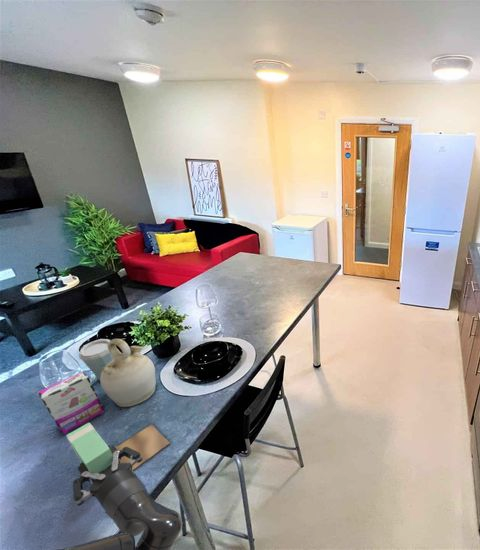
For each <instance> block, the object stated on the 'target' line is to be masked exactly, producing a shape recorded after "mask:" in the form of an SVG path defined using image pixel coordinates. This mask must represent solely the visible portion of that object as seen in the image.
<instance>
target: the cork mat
mask: <svg viewBox="0 0 480 550" xmlns="http://www.w3.org/2000/svg"><path fill="white" fill-rule="evenodd" d="M170 445H171V442H170V441H169V440H168V439H167V438H166V437H165V436H164V435H163V434H162V433H161V432H160V431H159V429H157V427H155V426H154V425H153V424H149V425H148V426H146V427H145V428H143V429H142V430H140V431H139V432H137V433H136V434H133V435H132V436H131V437H129V438H128V439H126V440H125V441H123V442H122V443H120V444H119V445H117V446H115V448H116V449H117V450H118V451H120V450H122V449H123V448H124V447H129V448H131V449H133V450H135V451H137V452H139V453H140V455H141V457H142V461H141V462H139V463H138V462H137V463H135V464H134V465H133V466H132V470H133V471H136V469H138V468H139V467H140V466H142V465H143V464H145V463H146V462H148V461H149V460H150V459H151V458H153V457H154V456H156V455H157V454H159V452H161V451H162V450H163V449H165V448H166V447H168V446H170ZM129 462H130V459H129V458H127V457H125V456H123V457H121V463H129Z"/></svg>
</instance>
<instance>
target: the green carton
mask: <svg viewBox="0 0 480 550" xmlns="http://www.w3.org/2000/svg"><path fill="white" fill-rule="evenodd" d="M65 437H66V439H67V440H68V442H69V444H70V446H71V448H72V449H73V451H74V453H75V455H76V457H77V458H78V460H79V462H80V463H82V462H83V463H84V464H85V466H86V467H87V469H88V471H89V472H96V473H99V472H101V471H103V470H104V469H106V468H107V467H108V466H110V465H111V464H112V459H113V454H112V452H111V450H110V448H109V447H108V446H109V445H108V444H107V443H106V442H105V441H104V439H103V437H101V435H100V434H99V433H98V432H97V430H96V429H95V427H94V426H93V425H92V424H91V423H90V422H86V423H84V424H83V425H81V426H79V427H77V428H76V429H74V430H72V431H70V432H69V433H67V434H65Z"/></svg>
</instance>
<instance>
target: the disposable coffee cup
mask: <svg viewBox="0 0 480 550" xmlns="http://www.w3.org/2000/svg"><path fill="white" fill-rule="evenodd" d="M110 341H111V340H110V339H108V338H100V339H96V340H93V341H90V342H88V343H86V344H85V345H83V346H82V347H81V349H80V350H79V354H78V357H79V360H81V361H82V362H83V363H84V364H85V365H86V366H87V367H88V369H89V370H90V371H91V372H92V374H94V376H95V377H96V378H97V379H98V380H99V381H100V377H101V373H102V368H103V367H106V365H107V364H109V363H110V362H111V361H112V360H114V359H115V357H114V356H112V355H111V353H110V352H109V350H108V343H109V342H110Z"/></svg>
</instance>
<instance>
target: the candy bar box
mask: <svg viewBox="0 0 480 550" xmlns="http://www.w3.org/2000/svg"><path fill="white" fill-rule="evenodd" d="M37 394H38V396H39V398H40V400H41V401H42V403H43V405H44V406H45V408H46V410H47V411H48V413H49V415H50V416H51V418H52V419H53V421H54V423H55V425H56V427H57V428H58V430H59V431H60V432H61V434H62V435H63V436H64V435H67V434H69V433H71V432H73V431H75V430H76V429H78V428H80V427H82V426H83V425H85V424H87V423H89V421H91V420H94V419H96V418H97V417H99V416H101V415H102V414H104V413H105V412H106V410H105V408H104V406H103V404H102V402H101V399H100V398H99V396H98V394H97V392H96V390H95V387H94V386H93V383H92V381H91V380H90V377H89V376H88V375H87V374H86V372H85V371H84V370H83V371H79V372H78V373H76V374H74V375H71V376H69V377H67V378H64V379H63V380H60V381H58V382H55V383H54V384H51V385H49V386H47V387H44V388H43V389H41V390H38V391H37Z"/></svg>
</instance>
